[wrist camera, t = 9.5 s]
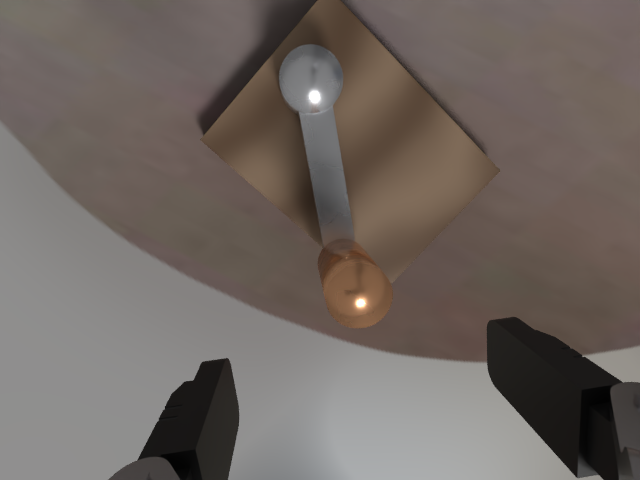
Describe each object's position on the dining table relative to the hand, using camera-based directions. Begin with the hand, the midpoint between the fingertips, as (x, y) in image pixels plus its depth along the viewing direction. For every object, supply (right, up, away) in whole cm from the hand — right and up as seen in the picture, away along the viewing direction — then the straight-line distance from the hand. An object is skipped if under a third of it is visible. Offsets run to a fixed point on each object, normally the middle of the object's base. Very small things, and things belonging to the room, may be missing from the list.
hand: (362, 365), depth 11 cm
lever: (-1, +8, +12) cm, 15 cm away
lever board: (+1, +10, +14) cm, 17 cm away
